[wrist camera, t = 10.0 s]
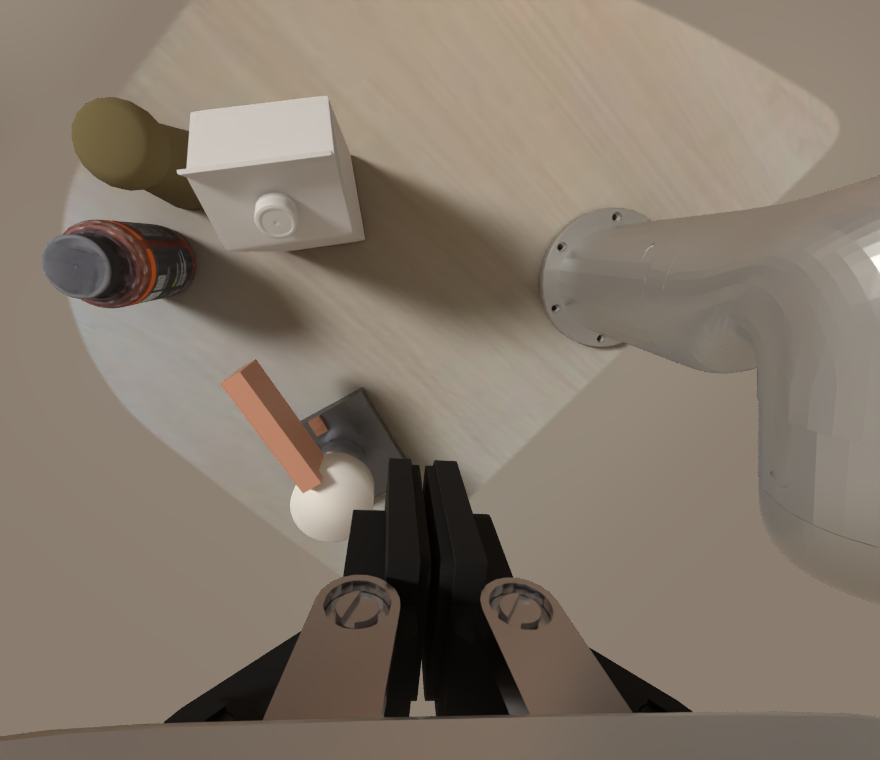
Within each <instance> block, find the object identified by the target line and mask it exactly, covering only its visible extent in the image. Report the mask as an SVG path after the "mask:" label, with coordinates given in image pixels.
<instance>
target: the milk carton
mask: <svg viewBox="0 0 880 760" xmlns="http://www.w3.org/2000/svg"><path fill="white" fill-rule="evenodd" d="M177 174H178V175H181V176H184V177H187V179H188V181H189V183H190V185H191V187H192V188H193V190H194V192H195V194H196V196H197V198H198V200H199V201H200V203H201V205H202V207H203V209H204V211H205V213H206V214H207V216H208V218H209V220H210V222H211V224H212V226H213V227H214V229H215V231H216V233H217V235H218V237H219V239H220V240H221V242H222V244H223V246H224V248H225V249H226V250H228V251H294V250H302V249H309V248H316V247H323V246H330V245H337V244H344V243H351V242H358V241H363V240H365V235H364V229H363V223H362V218H361V212H360V206H359V200H358V195H357V189H356V183H355V178H354V172H353V166H352V160H351V155H350V152H349V149H348V147H347V144H346V142H345V139H344V137H343V134H342V132H341V129H340V127H339V124H338V122H337V119H336V116H335V114H334V111H333V109H332V106H331V104H330V101H329V99H328V96H318V97H310V98H301V99H293V100H285V101H276V102H268V103H260V104H252V105H243V106H235V107H227V108H219V109H210V110H203V111H196V112H192V113H191V115H190V128H189V141H188V154H187V166H186V169H179V170H177Z"/></svg>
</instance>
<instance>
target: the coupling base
mask: <svg viewBox="0 0 880 760" xmlns="http://www.w3.org/2000/svg"><path fill="white" fill-rule="evenodd" d="M300 422H301V423H302V424H303V426H304V427H305V429H306V430H307V431H308V433H309V434H310V436H311V437H312V438H313V440H314V441H315V443H316V444H317V445H318V447H319V448H320V450H321V451H322V452H323V454H329V453H343V454H348V455H351V456H353V457H355V458H357V459H359V460H360V461H361V462H363V463H364V464H365V465H366V466H367V467H368V469H369V470H370V472H371V474H372V476H373V479H374V486H375V487H374V497H376V496H378V495H380V494H382V493H384V492H385V491H386V488H387V475H388V463H389V458H397V459H406V458H405V456H404V455H403V453H402V451H401V450H400V448H399V446H398V445H397V443H396V442H395V440H394V438H393V437H392V435H391V433H390V432H389V430H388V429H387V427H386V425H385V424H384V422H383V420H382V419H381V417H380V416H379V414H378V412H377V411H376V409H375V408H374V406H373V404H372V403H371V401H370V399H369V398H368V396H367V395H366V393H365V391H364V390H363V388H360V389H358V390H357V391H355V392H353V393H351V394H349V395H348V396H346V397H344V398H342V399H340V400H338V401H337V402H335V403H333V404H331V405H329V406H327V407H326V408H324V409H322V410H320V411H318V412H316V413H315V414H313V415H311V416H309V417H307V418H305V419H304V420H302V421H300Z"/></svg>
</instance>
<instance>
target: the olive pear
mask: <svg viewBox="0 0 880 760" xmlns="http://www.w3.org/2000/svg"><path fill="white" fill-rule="evenodd" d="M72 141H73V145H74V148H75V152H76V154H77V155H78V157H79V159H80V161H81V162H82V164H83V166H84V167H86V168H87V169H88V170H89V171H90V172H91V173H92V174H93V175H94V176H95V177H96V178H98V179H99V180H101V181H103V182H105V183H106V184H108V185H110V186H112V187H117V188H121V189H125V190H143V189H144V190H146V191H148V192H150V193H151V194H153V195H155V196H157V197H159V198H161V199H163V200H164V201H166V202H168V203H170V204H172V205H174V206H176V207H179V208H184V209H188V210H189V209H200V208H202V205H201V203H200V201H199V200H198V198H197V196H196V194H195V192H194V190H193V188H192V187H191V185H190V183H189V181H188V179H187V177H184V176H181V175H178V174H177V170H179V169H186V166H187V154H188V141H189V131H186V130H182V129H179V128H175V127H171V126H167V125H163V124H159V123H158V122H157V121H156V120H155V119H154V118H153V117H152V116H151V115H150V114H149V112H147V111H145V110H144V109H142V108H140V107H139V106H137V105H135V104H134V103H132V102H130V101H127V100H123V99H119V98H114V97H107V98H97V99H95V100H92V101H90V102H88V103H86V104H85V105H84V106H83V107H82V108H81V109H80V110H79V111H78V112H77V114H76V116H75V119H74V121H73V124H72Z"/></svg>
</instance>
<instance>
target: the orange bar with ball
mask: <svg viewBox="0 0 880 760" xmlns="http://www.w3.org/2000/svg"><path fill="white" fill-rule="evenodd" d="M220 384H221V386H222V387H223V388H224V390H225V391H226V392H227V394H228V395H229V396H230V398H231V399H232V400H233V401H234V403H235V404H236V405H237V407H238V408H239V409H240V411H241V412H242V413H243V415H244V416H245V417H246V419H247V420H248V421H249V423H250V424H251V425H252V427H253V428H254V429H255V431H256V432H257V433H258V435H259V436H260V437H261V439H262V440H263V441H264V443H265V444H266V445H267V447H268V448H269V449H270V451H271V452H272V453H273V455H274V456H275V457H276V458H277V460H278V461H279V462H280V464H281V465H282V466H283V468H284V469H285V470H286V472H287V473H288V474H289V476H290V477H291V478H292V480H293V481H294V482H295V484H296V486H295V489H294V491H293V494H292V497H291V501H290V510H291V515H292V518H293V520H294V522H295V523H296V525H297V526H298V527H299V529H300V530H301V531H303V532H304V533H305V534H307V535H308V536H310V537H312V538H314V539H317V540H320V541H325V542H338V541H343V540H347V539H349V534H350V528H351V521H352V514H353V510H373V504H374V487H375V486H374V479H373V476H372V474H371V472H370V470H369V469H368V467H367V466H366V465H365V464H364V463H363V462H361V461H360V460H359V459H357V458H355V457H353V456H351V455H348V454H343V453H329V454H323V452H322V451H321V450H320V448H319V447H318V445H317V444H316V443H315V441H314V440H313V438H312V437H311V436H310V434H309V433H308V431H307V430H306V429H305V427H304V426H303V424H302V423H301V422H300V420H299V419H298V417H297V416H296V415H295V413H294V412H293V410H292V409H291V408H290V406H289V405H288V403H287V402H286V401H285V399H284V398H283V396H282V395H281V394H280V392H279V391H278V389H277V388H276V387H275V385H274V384H273V382H272V381H271V380H270V378H269V377H268V376H267V374H266V373H265V371H264V370H263V369H262V367H261V366H260V364H259V363H258V362H257V360H256V359H255V360H253V361H252V362H250V363H248V364H247V365H245V366H243V367H242V368H240V369H238V370H237V371H236V372H234V373H233V374H232V375H230V376H229V377H228V378H227V379H225V380H224V381H223V382H221V383H220Z"/></svg>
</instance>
